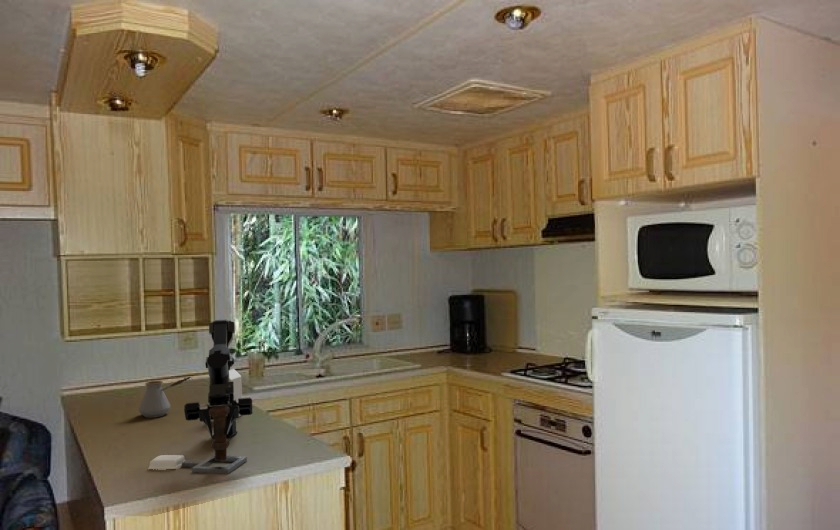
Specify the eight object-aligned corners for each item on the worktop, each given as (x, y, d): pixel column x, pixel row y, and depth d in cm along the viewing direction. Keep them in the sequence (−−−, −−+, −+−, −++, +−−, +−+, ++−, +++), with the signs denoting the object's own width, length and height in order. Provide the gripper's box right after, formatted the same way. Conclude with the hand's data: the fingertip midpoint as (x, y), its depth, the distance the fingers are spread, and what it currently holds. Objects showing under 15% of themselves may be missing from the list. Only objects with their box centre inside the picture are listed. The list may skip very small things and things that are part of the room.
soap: (188, 463, 179) (187, 453, 179) (176, 471, 172) (176, 460, 172) (158, 463, 180) (158, 453, 180) (146, 471, 173) (146, 460, 173)
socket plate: (174, 471, 170) (173, 467, 170) (195, 459, 181) (195, 455, 181) (228, 473, 167) (228, 469, 167) (246, 460, 178) (246, 456, 178)
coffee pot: (132, 419, 233) (131, 379, 233) (149, 411, 245) (148, 374, 245) (185, 419, 231) (184, 379, 231) (199, 411, 242) (198, 373, 242)
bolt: (229, 454, 178) (227, 404, 177) (233, 460, 174) (231, 408, 173) (208, 458, 175) (206, 407, 174) (212, 464, 171) (210, 411, 170)
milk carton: (242, 415, 234) (241, 365, 234) (232, 419, 227) (230, 369, 227) (226, 414, 236) (225, 365, 236) (215, 419, 229) (214, 368, 229)
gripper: (183, 375, 175) (181, 423, 165) (251, 370, 180) (252, 416, 170) (187, 396, 183) (184, 443, 172) (251, 391, 188) (253, 436, 177)
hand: (218, 434), depth 173 cm, fingers closed on bolt, 4 cm apart
